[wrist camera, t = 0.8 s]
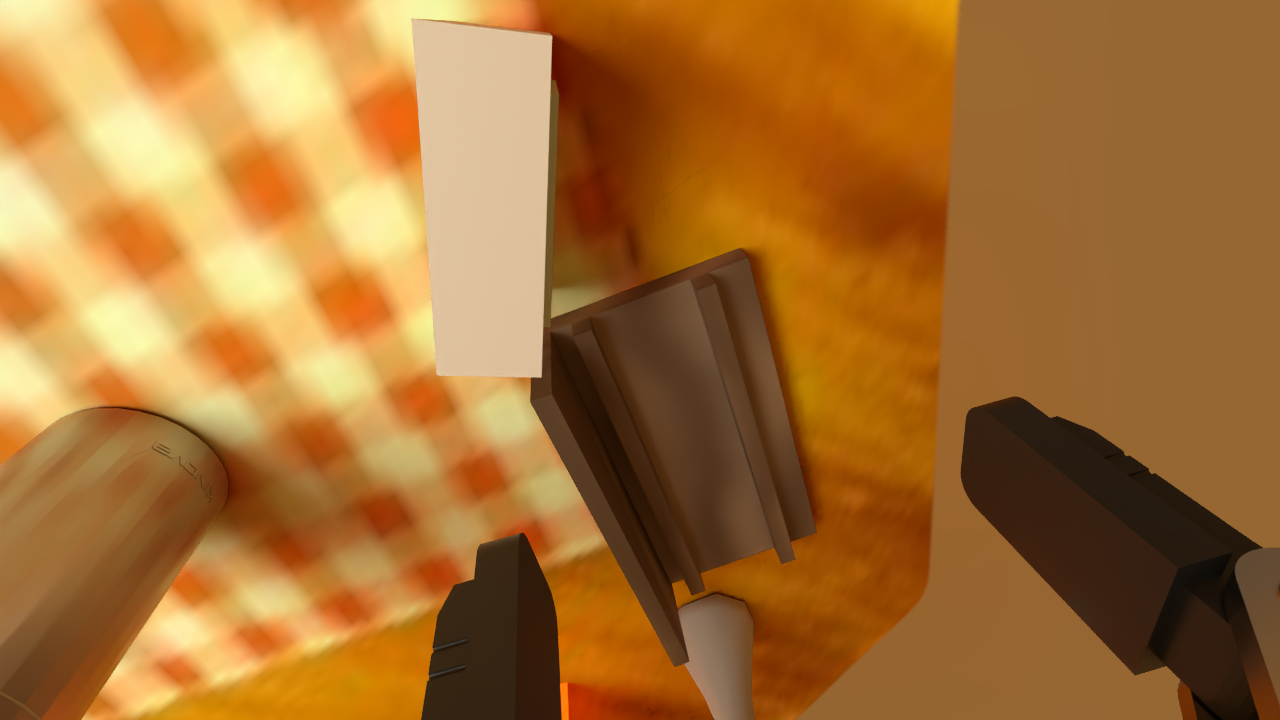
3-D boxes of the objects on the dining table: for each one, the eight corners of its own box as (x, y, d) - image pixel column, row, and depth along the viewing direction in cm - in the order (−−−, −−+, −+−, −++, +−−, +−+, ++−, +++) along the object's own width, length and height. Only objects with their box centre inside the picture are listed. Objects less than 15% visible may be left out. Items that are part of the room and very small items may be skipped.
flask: (767, 617, 48) (816, 746, 39) (699, 661, 50) (731, 793, 41) (717, 579, 45) (759, 710, 36) (645, 626, 46) (669, 763, 38)
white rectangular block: (547, 289, 31) (549, 377, 23) (463, 286, 30) (436, 375, 22) (556, 33, 25) (562, 36, 17) (453, 20, 24) (411, 18, 17)
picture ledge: (655, 570, 43) (674, 666, 37) (532, 325, 32) (530, 401, 25) (808, 517, 42) (855, 604, 36) (739, 248, 31) (790, 305, 25)
